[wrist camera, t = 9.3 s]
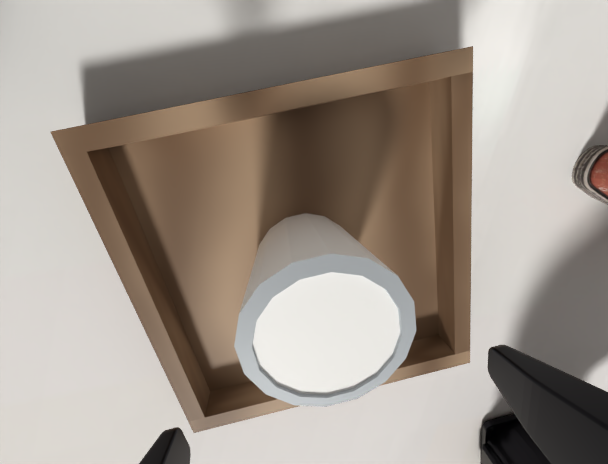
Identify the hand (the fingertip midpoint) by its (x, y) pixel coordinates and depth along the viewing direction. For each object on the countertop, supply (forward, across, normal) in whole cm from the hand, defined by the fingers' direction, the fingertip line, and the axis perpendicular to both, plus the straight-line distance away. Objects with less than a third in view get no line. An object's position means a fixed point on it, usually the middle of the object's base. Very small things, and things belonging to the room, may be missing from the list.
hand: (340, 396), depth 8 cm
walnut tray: (+10, 0, 0) cm, 10 cm away
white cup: (+10, 0, 0) cm, 10 cm away
